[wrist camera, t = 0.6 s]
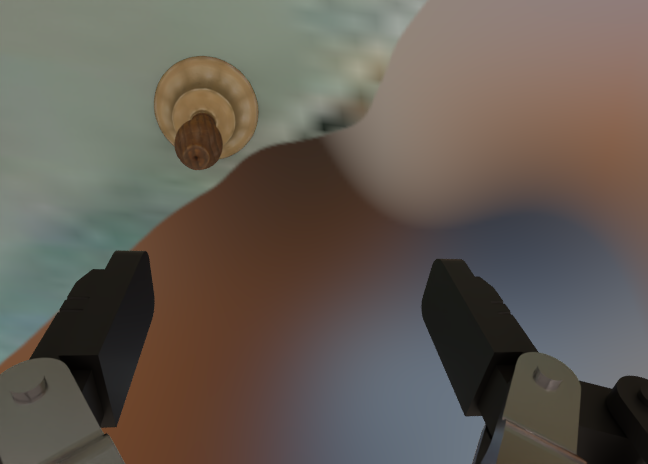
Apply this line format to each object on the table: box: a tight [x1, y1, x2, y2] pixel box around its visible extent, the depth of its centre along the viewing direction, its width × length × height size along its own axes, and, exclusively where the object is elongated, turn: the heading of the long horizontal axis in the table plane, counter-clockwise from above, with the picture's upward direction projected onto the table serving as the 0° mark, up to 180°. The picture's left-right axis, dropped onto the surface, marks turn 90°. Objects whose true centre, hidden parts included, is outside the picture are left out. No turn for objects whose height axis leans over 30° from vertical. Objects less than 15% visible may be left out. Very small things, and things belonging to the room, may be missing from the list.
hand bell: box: [154, 56, 258, 170], centre depth 28 cm, size 8×8×16 cm
